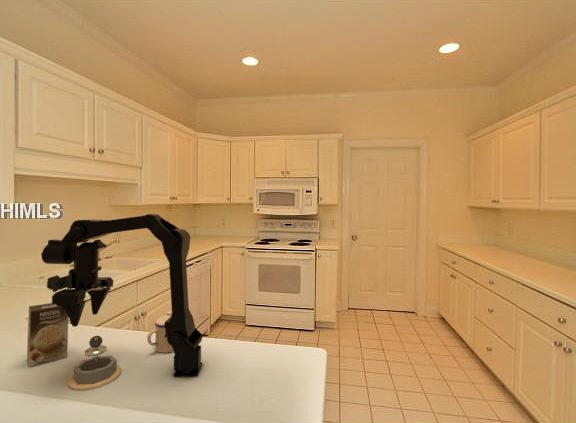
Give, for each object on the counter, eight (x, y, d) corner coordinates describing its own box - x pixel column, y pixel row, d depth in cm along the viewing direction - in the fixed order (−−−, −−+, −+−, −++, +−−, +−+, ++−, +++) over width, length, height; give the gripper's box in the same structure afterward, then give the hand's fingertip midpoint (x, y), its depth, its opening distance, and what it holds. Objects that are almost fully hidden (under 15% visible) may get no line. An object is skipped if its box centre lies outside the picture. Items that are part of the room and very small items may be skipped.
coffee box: (28, 368, 84) (29, 311, 84) (26, 360, 89) (27, 306, 89) (68, 357, 90) (68, 304, 90) (64, 350, 95) (65, 300, 95)
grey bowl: (129, 364, 86) (129, 352, 86) (106, 389, 74) (106, 375, 74) (86, 366, 85) (86, 353, 85) (56, 391, 73) (56, 376, 73)
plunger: (110, 356, 83) (110, 332, 83) (100, 365, 78) (100, 339, 78) (91, 356, 82) (91, 332, 82) (80, 366, 77) (80, 340, 77)
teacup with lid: (174, 338, 104) (174, 305, 104) (189, 346, 99) (190, 311, 99) (140, 351, 95) (140, 314, 95) (155, 360, 89) (155, 321, 89)
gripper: (76, 259, 92) (76, 309, 92) (29, 271, 73) (28, 334, 73) (114, 259, 93) (113, 309, 93) (76, 270, 74) (75, 333, 74)
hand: (85, 320), depth 83 cm, fingers open, 9 cm apart
